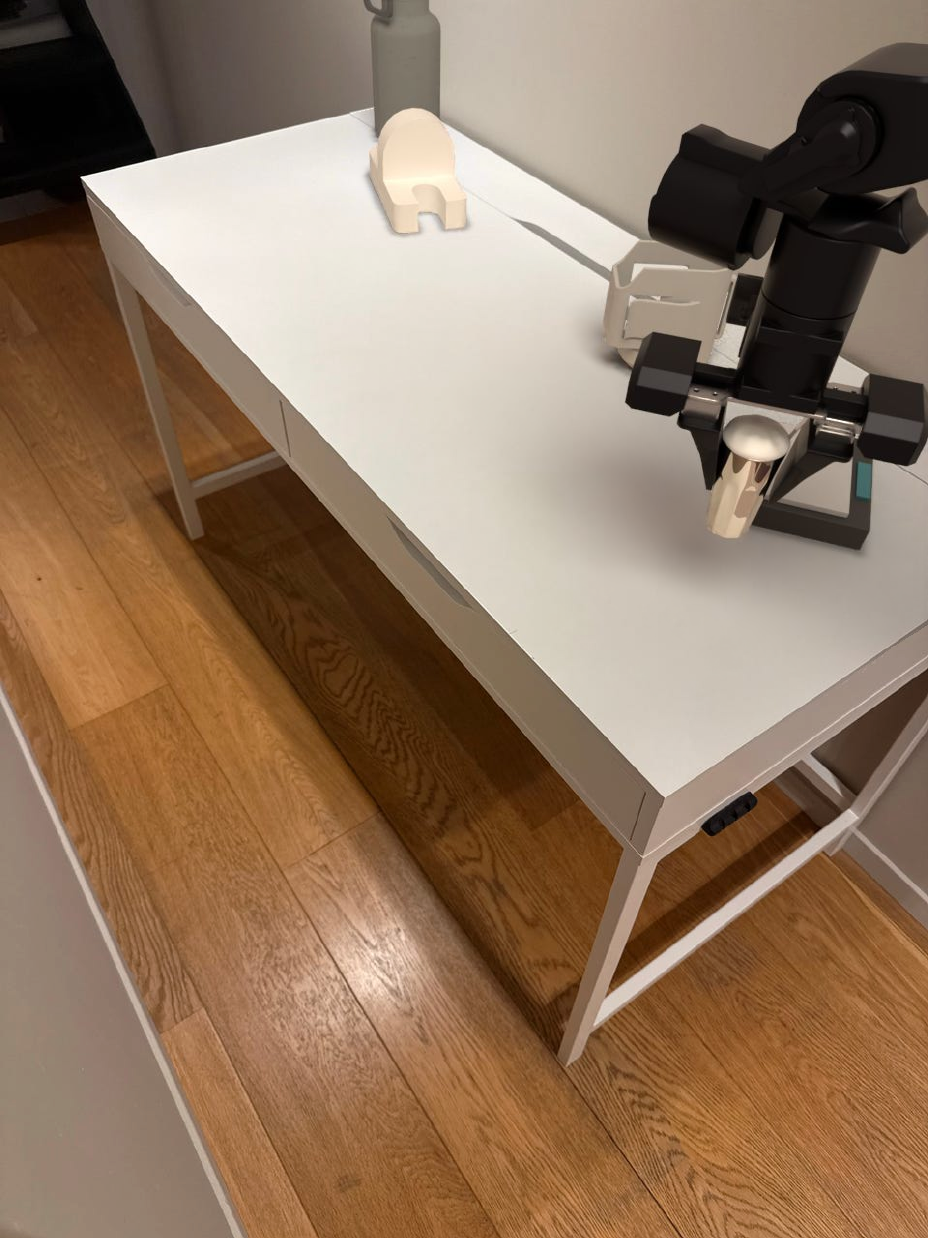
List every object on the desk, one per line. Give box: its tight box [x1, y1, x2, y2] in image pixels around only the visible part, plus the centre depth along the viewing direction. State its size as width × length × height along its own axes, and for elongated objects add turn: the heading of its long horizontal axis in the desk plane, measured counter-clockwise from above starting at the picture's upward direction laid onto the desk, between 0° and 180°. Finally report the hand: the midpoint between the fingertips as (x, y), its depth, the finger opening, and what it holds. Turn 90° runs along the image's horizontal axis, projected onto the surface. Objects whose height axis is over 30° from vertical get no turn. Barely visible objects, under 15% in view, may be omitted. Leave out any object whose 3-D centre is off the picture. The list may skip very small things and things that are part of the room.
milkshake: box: [704, 413, 809, 539], centre depth 63 cm, size 5×5×10 cm
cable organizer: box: [602, 239, 738, 369], centre depth 91 cm, size 7×12×12 cm, turn 88°
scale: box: [751, 421, 874, 551], centre depth 81 cm, size 10×13×3 cm
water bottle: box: [363, 0, 442, 137], centre depth 123 cm, size 10×10×28 cm
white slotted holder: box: [368, 108, 468, 234], centre depth 116 cm, size 10×18×11 cm, turn 15°
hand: (740, 493), depth 65 cm, fingers closed on milkshake, 4 cm apart
